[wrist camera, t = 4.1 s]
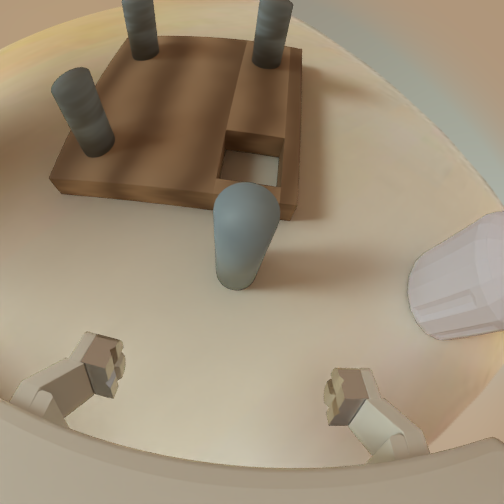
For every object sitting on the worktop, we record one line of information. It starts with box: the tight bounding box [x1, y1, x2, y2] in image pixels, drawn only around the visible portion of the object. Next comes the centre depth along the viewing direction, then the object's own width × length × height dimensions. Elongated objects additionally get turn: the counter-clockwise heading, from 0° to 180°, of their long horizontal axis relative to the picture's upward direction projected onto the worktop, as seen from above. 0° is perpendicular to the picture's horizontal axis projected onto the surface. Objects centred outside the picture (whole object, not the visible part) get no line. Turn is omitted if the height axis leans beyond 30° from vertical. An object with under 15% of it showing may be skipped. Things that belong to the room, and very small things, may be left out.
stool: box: [49, 0, 302, 221], centre depth 25 cm, size 22×22×11 cm
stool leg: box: [213, 182, 280, 290], centre depth 20 cm, size 3×3×11 cm
